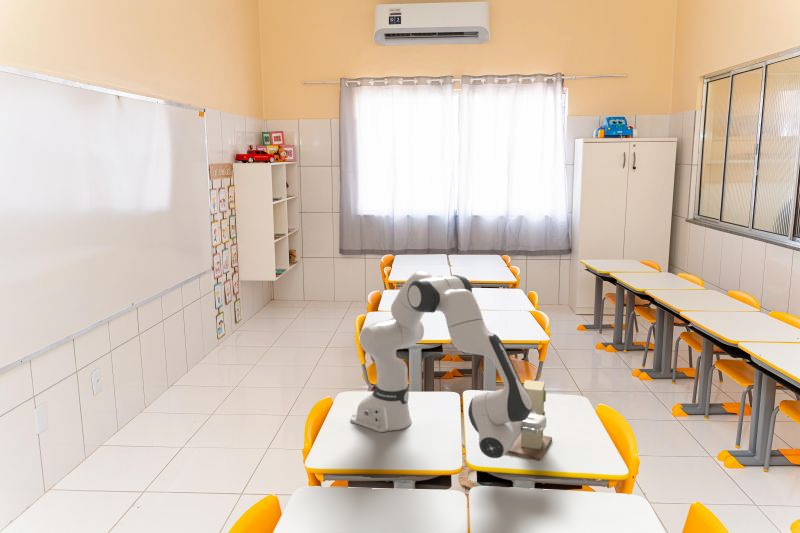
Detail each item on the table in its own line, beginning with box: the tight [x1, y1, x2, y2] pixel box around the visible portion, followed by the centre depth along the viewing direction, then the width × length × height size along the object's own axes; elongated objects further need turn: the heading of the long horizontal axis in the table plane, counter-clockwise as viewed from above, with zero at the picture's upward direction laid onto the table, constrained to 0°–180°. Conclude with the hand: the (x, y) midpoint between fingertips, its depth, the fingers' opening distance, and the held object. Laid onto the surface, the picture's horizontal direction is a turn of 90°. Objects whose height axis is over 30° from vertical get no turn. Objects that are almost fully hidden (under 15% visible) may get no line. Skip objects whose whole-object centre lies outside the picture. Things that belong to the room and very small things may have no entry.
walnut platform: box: [506, 433, 553, 462], centre depth 215 cm, size 16×16×1 cm
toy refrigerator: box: [521, 379, 547, 449], centre depth 212 cm, size 8×7×21 cm
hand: (519, 409), depth 205 cm, fingers open, 8 cm apart
